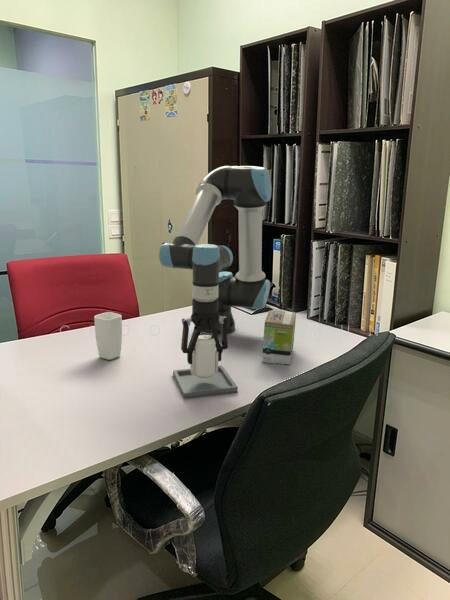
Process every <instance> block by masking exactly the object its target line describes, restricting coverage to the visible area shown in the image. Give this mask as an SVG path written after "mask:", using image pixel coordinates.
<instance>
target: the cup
mask: <svg viewBox="0 0 450 600" xmlns="http://www.w3.org/2000/svg"><path fill="white" fill-rule="evenodd" d="M93 318H94V319H93V320H94V333H95V334H94V335H95V341H96V347H97V354H98V357H99V358H101V359H104V360H108V361H111V360H114V359H116V358H119V357H120V356H121V351H122V344H123V343H122V341H123V321H122V320H123V319H122V314H119V313H116V312H112V311H106V312H102V313H99V314H96V315H94V317H93Z"/></svg>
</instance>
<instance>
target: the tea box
mask: <svg viewBox="0 0 450 600" xmlns="http://www.w3.org/2000/svg"><path fill="white" fill-rule="evenodd" d="M296 317H297V313H296V312H293V311H283V310H282V311H281V310H273V309H271V310H269V311H268V313H267V315H266V318H265V320H264V328H263V329H264V330H263V341H262V355H261V362H262V363H267V364H268V363H269V364H275V363H279V364H278V365H284V364H289V365H291V362H292V356H293V351H294V342H295V332H296V331H295V330H296V319H297V318H296Z"/></svg>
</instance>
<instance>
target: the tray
mask: <svg viewBox="0 0 450 600" xmlns="http://www.w3.org/2000/svg"><path fill="white" fill-rule="evenodd" d="M190 371H191V368H185V369H174V370H173V371H172V377H173V378H174V381H175V383H176V386H177V388H178V390H179V392H180V394H181V395H182V397H183V400H188V399H196V398H197V399H198V398H205V397H212V396H220V395H221V396H222V395H228V394H229V395H230V394H238V390H239V388H238V387H239V386H238V385H237V384H236V383H235V381H234V380H233V378H232V377H231V376H230V375H229V373H228V372H227V370H226V369H225V368H224V367H223V365H218V373H215V374H214V375H213V376H211V377H208V378H201V377H197V376H196V375H192V373H191V372H190Z"/></svg>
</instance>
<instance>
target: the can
mask: <svg viewBox="0 0 450 600" xmlns="http://www.w3.org/2000/svg"><path fill="white" fill-rule="evenodd" d="M197 339H198V340H197V342H196V345H195V348H194V351H193V352H194V354H195V375H196V376H197V377H201V378H208V377H211V376H213V375H214V374H215V349H216V343H215V340H214V337H213V336H212V334H209V333H204V332H201V333H200V334H199V337H198V338H197Z"/></svg>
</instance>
